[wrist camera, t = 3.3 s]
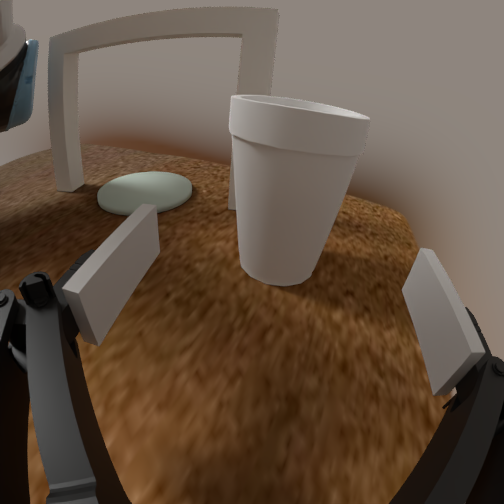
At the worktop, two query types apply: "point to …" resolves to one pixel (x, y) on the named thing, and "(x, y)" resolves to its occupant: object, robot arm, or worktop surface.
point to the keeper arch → (136, 30)
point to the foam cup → (290, 180)
